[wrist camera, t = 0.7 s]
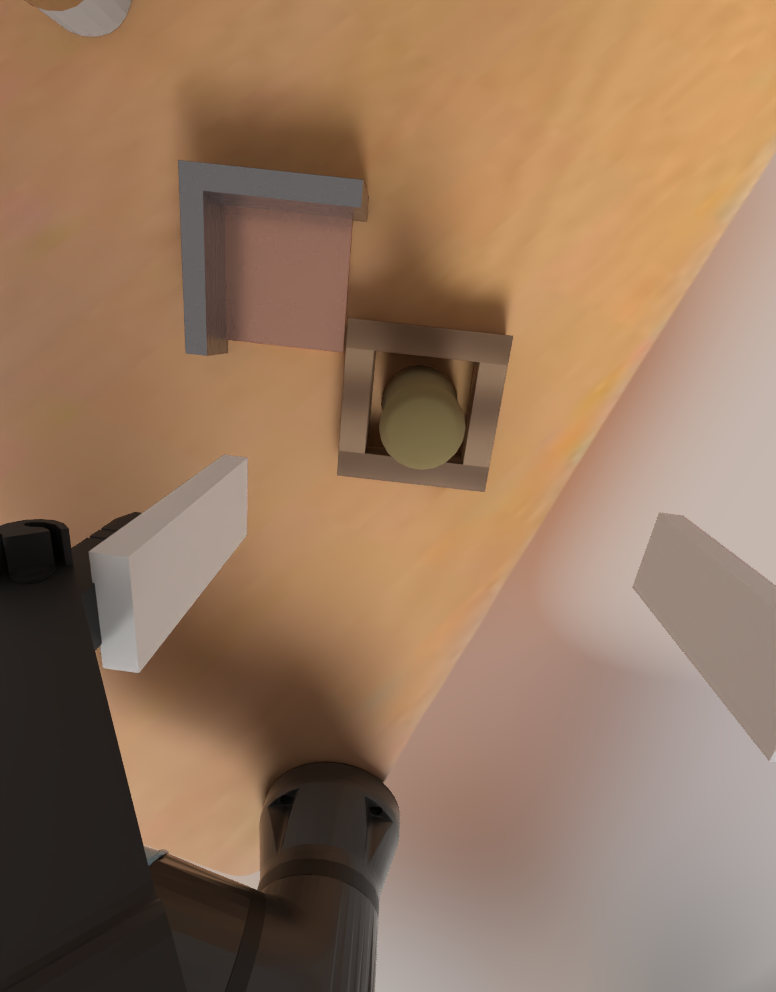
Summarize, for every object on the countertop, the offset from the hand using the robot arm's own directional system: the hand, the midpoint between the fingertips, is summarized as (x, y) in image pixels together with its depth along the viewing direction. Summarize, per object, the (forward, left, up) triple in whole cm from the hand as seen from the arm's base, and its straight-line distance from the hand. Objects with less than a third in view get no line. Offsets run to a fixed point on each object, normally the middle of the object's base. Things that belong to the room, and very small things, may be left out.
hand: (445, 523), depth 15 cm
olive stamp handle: (0, 0, -24) cm, 24 cm away
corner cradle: (+8, +11, -24) cm, 28 cm away
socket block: (0, 0, -24) cm, 24 cm away
